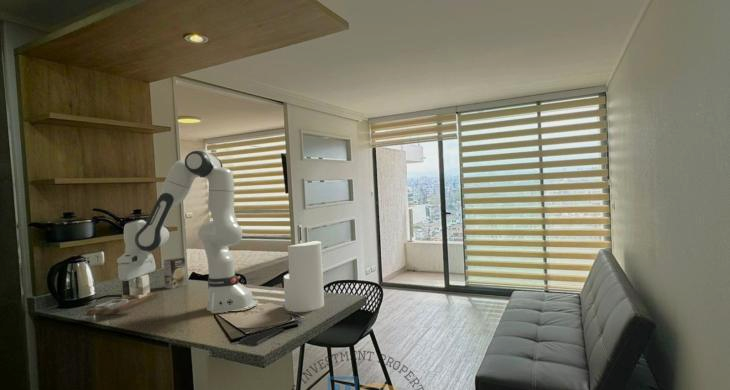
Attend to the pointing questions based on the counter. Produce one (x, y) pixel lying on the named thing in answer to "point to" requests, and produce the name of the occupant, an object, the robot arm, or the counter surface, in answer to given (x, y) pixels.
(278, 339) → the counter surface
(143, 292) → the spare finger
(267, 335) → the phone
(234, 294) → the robot arm
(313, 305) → the cylinder
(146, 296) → the cream box on board
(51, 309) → the counter surface
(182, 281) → the coffee box
